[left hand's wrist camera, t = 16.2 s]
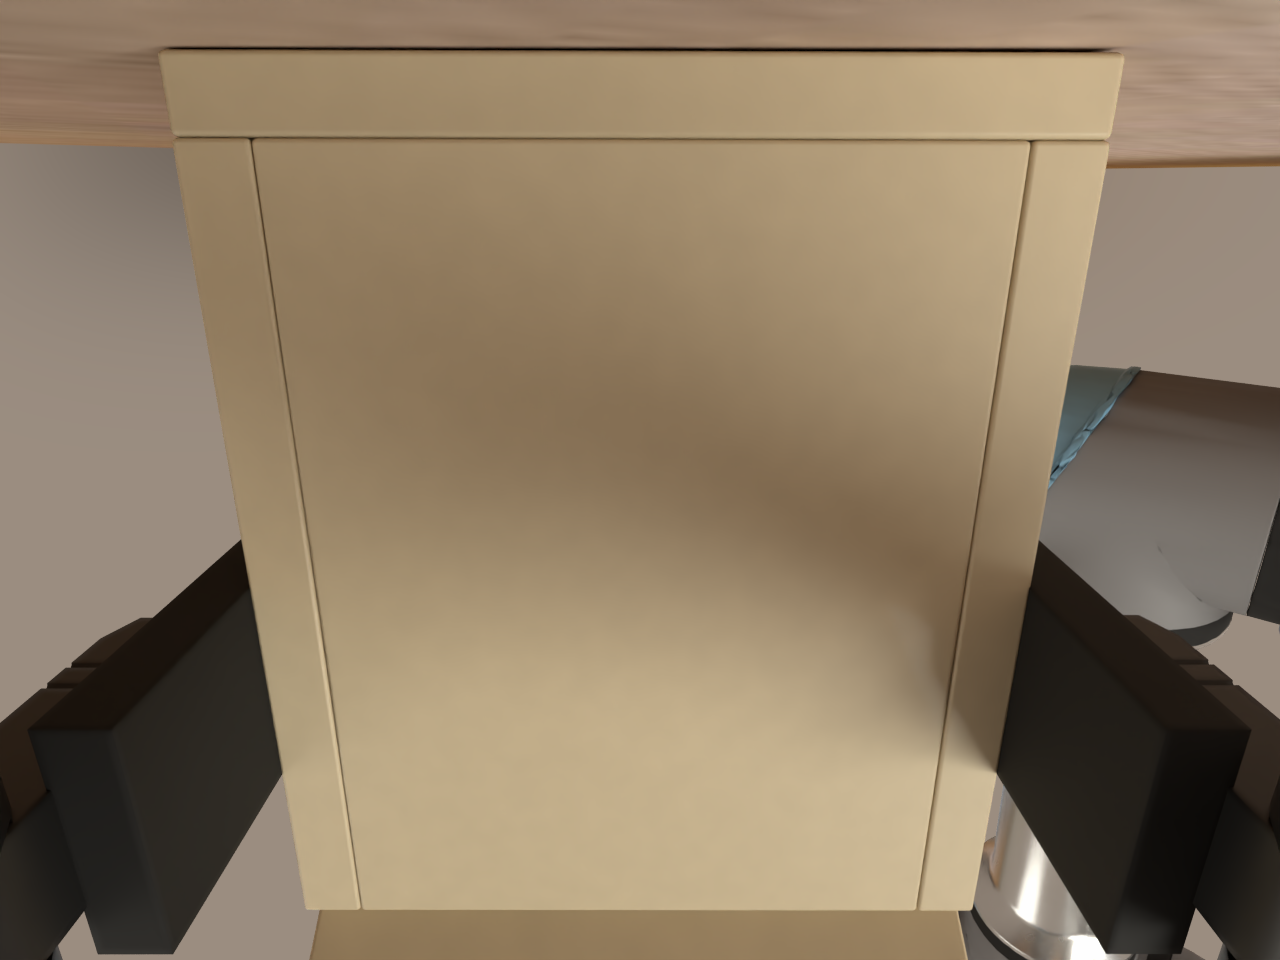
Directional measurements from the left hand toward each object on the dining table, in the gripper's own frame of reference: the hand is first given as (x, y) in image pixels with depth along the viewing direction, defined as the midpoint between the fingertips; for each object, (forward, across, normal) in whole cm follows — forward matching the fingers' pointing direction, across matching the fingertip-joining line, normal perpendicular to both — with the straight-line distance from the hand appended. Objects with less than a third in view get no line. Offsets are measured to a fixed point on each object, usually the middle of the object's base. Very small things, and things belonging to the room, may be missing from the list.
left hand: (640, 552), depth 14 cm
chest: (+3, 0, -7) cm, 8 cm away
